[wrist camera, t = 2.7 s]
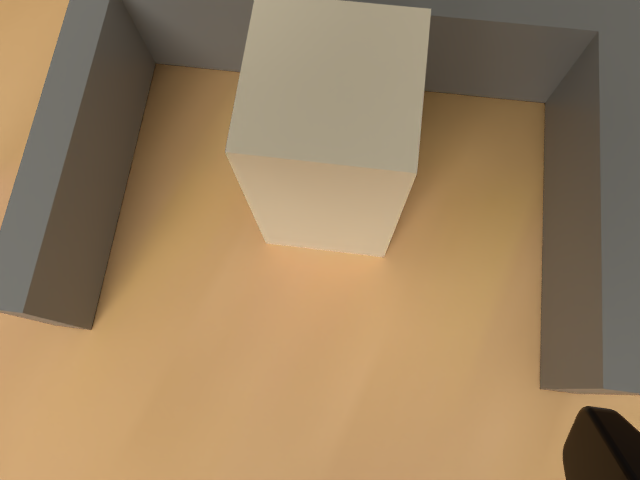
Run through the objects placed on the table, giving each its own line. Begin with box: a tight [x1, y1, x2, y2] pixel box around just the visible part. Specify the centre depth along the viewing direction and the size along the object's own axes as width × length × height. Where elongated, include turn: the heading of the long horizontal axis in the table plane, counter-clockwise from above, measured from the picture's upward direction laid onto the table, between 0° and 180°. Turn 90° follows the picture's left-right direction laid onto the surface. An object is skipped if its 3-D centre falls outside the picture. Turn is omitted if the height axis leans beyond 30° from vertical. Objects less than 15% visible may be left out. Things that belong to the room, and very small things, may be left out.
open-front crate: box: [0, 0, 640, 395], centre depth 21 cm, size 14×21×5 cm, turn 83°
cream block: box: [225, 0, 431, 257], centre depth 19 cm, size 5×5×9 cm
